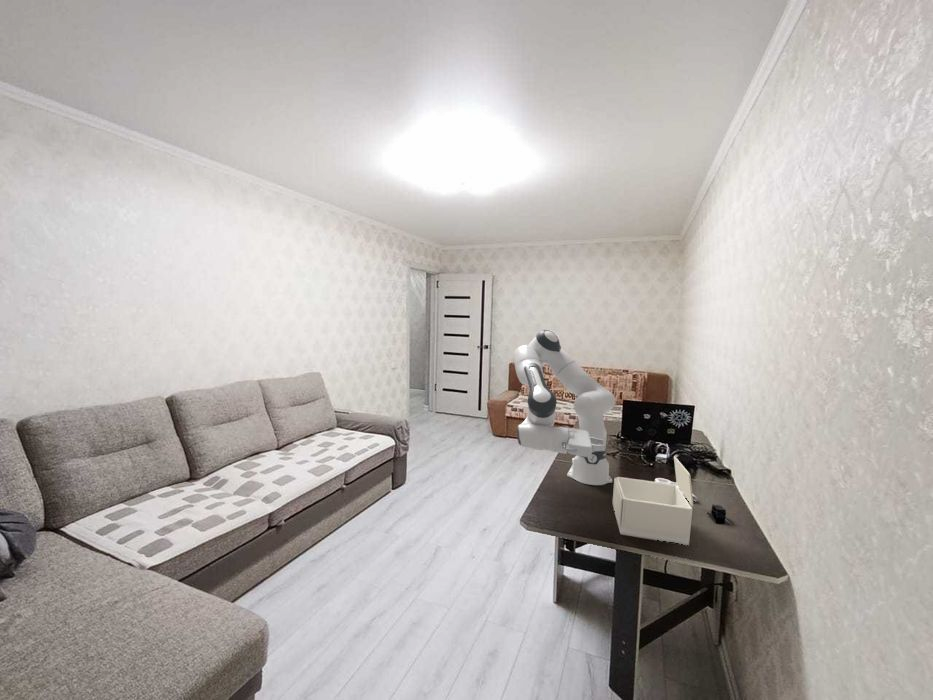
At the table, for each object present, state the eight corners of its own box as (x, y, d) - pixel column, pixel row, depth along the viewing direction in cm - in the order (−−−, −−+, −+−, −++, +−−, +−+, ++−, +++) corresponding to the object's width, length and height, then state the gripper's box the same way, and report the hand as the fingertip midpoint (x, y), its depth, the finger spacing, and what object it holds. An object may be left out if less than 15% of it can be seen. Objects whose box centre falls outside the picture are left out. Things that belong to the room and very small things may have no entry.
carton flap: (673, 456, 138) (675, 456, 138) (676, 484, 138) (677, 484, 138) (688, 474, 121) (690, 474, 121) (692, 506, 121) (693, 506, 121)
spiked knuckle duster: (700, 507, 150) (660, 503, 152) (682, 487, 168) (646, 484, 170) (701, 499, 149) (660, 494, 152) (682, 480, 167) (646, 476, 169)
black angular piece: (699, 510, 148) (701, 498, 148) (720, 512, 147) (722, 500, 146) (715, 527, 136) (716, 514, 135) (738, 529, 135) (739, 517, 134)
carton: (611, 507, 145) (614, 476, 144) (672, 517, 140) (675, 484, 139) (618, 535, 126) (621, 499, 125) (689, 546, 121) (693, 509, 120)
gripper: (563, 439, 128) (608, 445, 125) (563, 424, 148) (602, 428, 144) (561, 458, 128) (606, 464, 125) (562, 440, 148) (600, 445, 145)
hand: (604, 445), depth 135 cm, fingers open, 5 cm apart
